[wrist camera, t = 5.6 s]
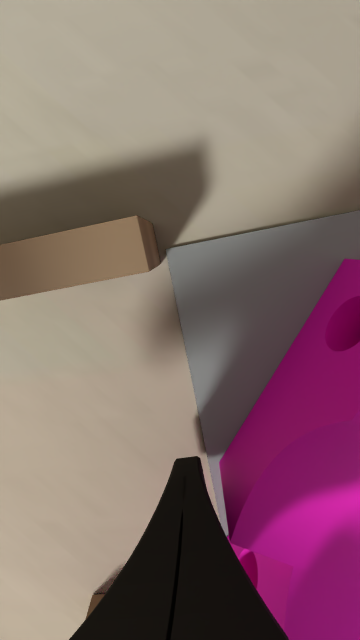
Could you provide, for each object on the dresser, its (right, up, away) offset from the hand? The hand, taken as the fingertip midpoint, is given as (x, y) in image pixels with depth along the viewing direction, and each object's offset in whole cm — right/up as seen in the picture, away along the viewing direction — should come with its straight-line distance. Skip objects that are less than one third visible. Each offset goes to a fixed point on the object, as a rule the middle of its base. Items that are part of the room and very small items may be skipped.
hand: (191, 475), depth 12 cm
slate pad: (+5, +1, +1) cm, 5 cm away
